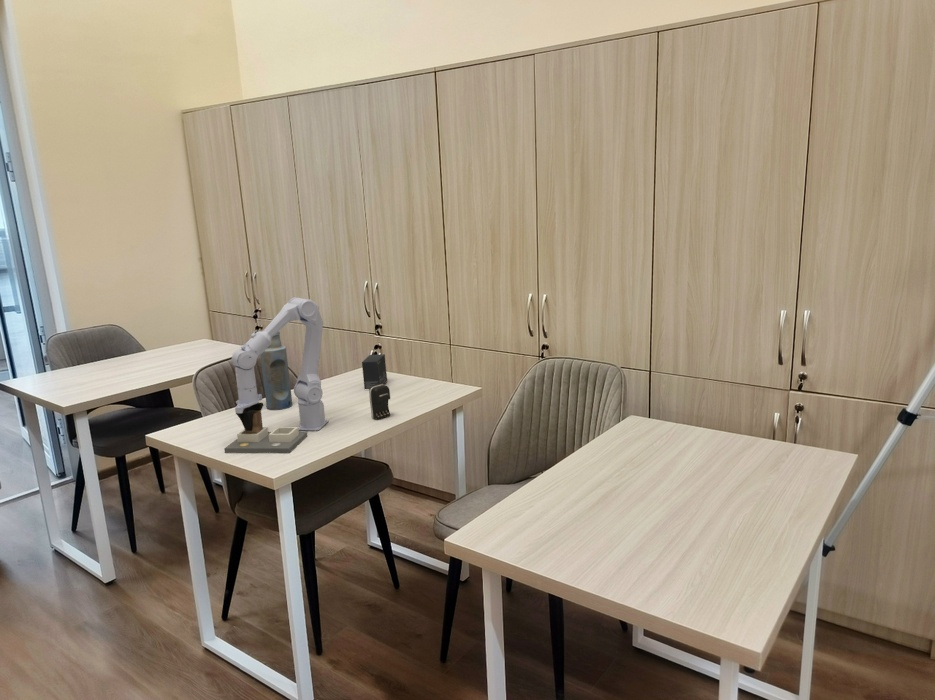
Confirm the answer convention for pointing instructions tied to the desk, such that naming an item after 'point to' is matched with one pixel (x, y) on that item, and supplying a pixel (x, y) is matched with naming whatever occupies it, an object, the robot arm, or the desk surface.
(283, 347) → the bottle
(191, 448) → the desk surface
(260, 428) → the walnut peg
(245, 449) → the socket board
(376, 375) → the small box
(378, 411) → the battery charger
